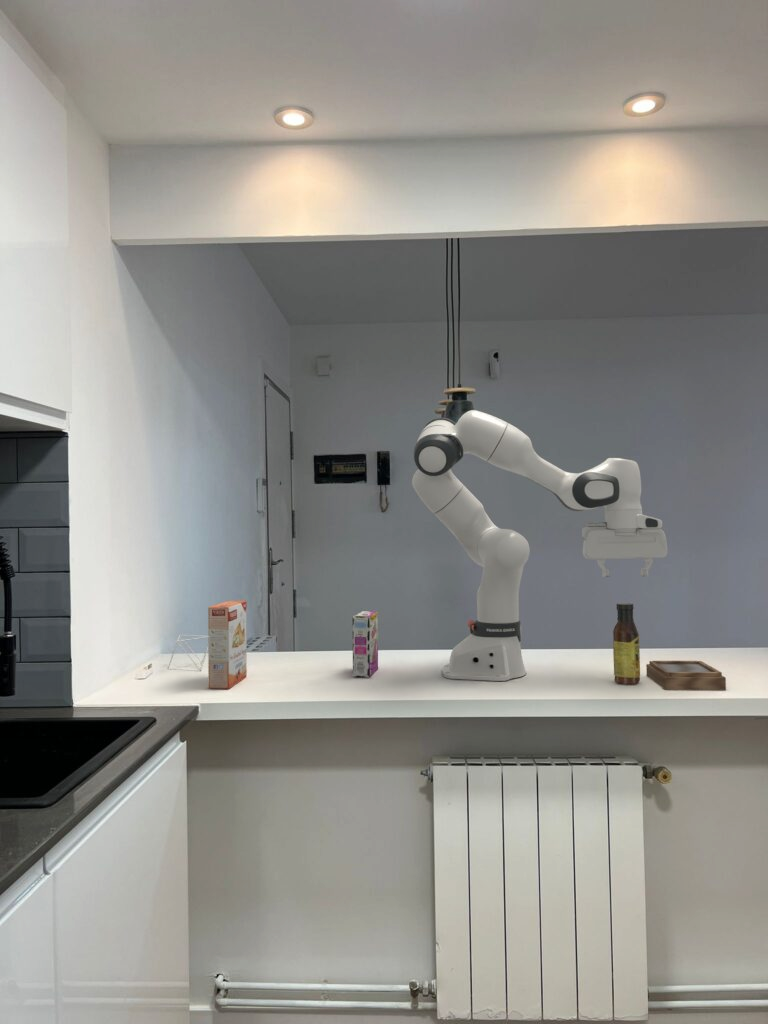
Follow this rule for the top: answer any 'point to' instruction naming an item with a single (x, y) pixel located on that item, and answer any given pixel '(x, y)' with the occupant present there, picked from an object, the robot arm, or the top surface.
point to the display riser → (685, 675)
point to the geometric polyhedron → (187, 654)
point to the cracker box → (227, 644)
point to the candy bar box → (365, 644)
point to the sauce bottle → (626, 647)
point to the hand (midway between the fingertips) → (625, 576)
